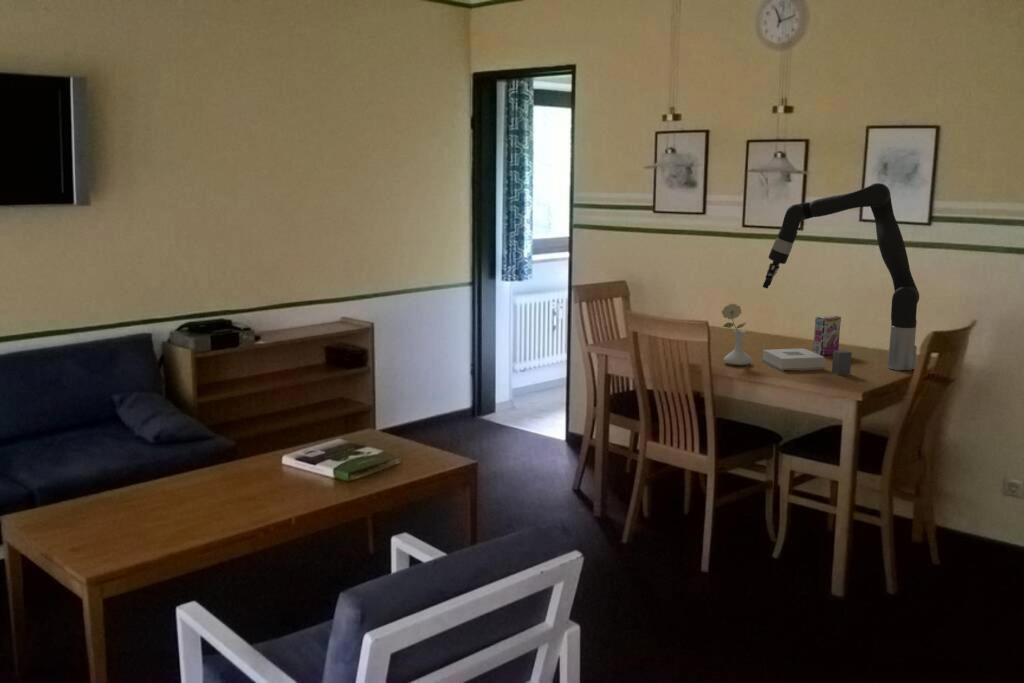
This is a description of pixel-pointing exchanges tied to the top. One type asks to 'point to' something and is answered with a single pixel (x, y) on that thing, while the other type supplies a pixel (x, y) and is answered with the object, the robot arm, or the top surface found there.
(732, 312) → the flower in vase
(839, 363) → the plug
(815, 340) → the candy bar box
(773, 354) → the socket
